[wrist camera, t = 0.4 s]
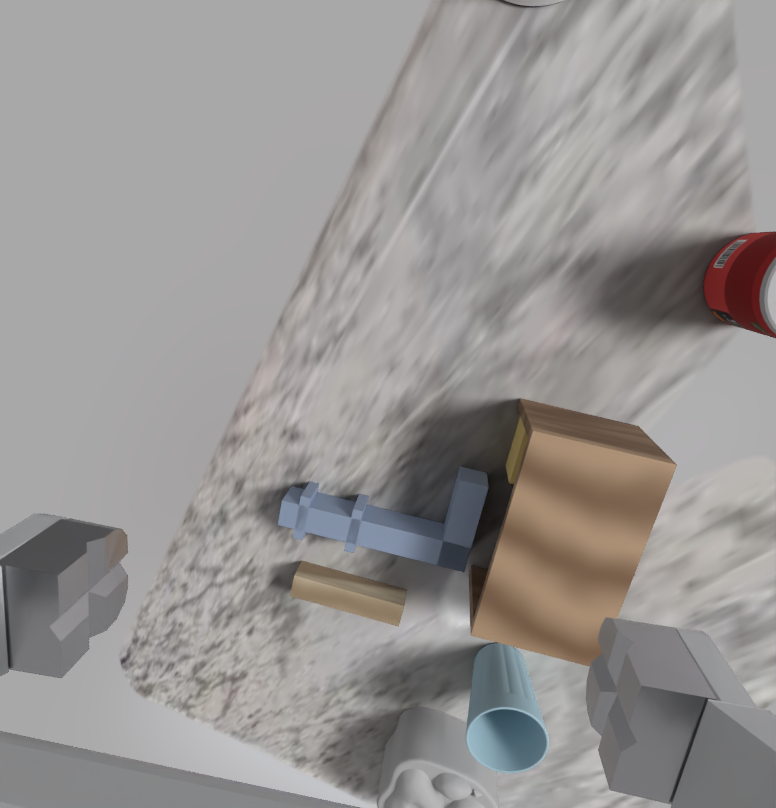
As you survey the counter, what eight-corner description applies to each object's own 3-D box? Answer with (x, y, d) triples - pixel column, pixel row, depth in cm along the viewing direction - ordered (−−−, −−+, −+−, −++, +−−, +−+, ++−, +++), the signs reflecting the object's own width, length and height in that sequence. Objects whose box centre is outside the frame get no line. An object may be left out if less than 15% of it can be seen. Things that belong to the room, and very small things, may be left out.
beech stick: (302, 559, 63) (294, 575, 60) (406, 588, 62) (404, 606, 59) (298, 579, 64) (289, 595, 60) (401, 607, 63) (398, 626, 60)
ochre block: (520, 414, 55) (525, 428, 51) (565, 425, 55) (575, 440, 51) (505, 465, 57) (509, 483, 53) (549, 476, 57) (557, 494, 52)
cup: (526, 628, 61) (539, 703, 51) (541, 686, 63) (556, 769, 53) (458, 639, 63) (457, 713, 53) (474, 695, 65) (476, 777, 55)
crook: (302, 427, 58) (292, 439, 55) (486, 472, 57) (488, 487, 54) (286, 517, 61) (276, 533, 58) (461, 561, 60) (461, 580, 57)
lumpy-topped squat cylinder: (409, 697, 66) (402, 762, 58) (512, 741, 66) (520, 812, 57) (377, 759, 69) (366, 830, 61) (475, 801, 69) (478, 877, 60)
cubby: (520, 398, 55) (533, 430, 45) (638, 426, 54) (676, 464, 45) (468, 573, 60) (470, 635, 51) (575, 600, 60) (597, 668, 50)
